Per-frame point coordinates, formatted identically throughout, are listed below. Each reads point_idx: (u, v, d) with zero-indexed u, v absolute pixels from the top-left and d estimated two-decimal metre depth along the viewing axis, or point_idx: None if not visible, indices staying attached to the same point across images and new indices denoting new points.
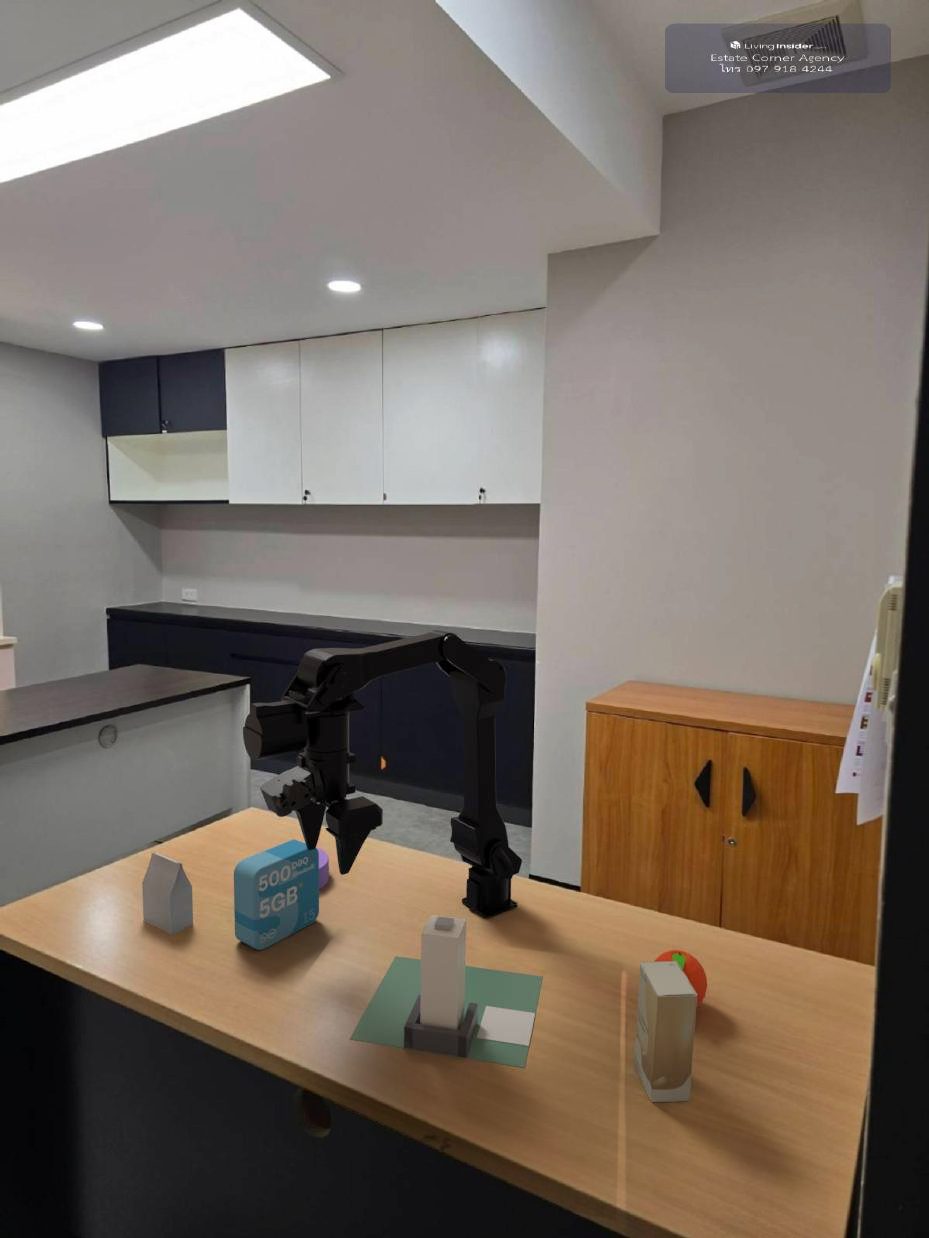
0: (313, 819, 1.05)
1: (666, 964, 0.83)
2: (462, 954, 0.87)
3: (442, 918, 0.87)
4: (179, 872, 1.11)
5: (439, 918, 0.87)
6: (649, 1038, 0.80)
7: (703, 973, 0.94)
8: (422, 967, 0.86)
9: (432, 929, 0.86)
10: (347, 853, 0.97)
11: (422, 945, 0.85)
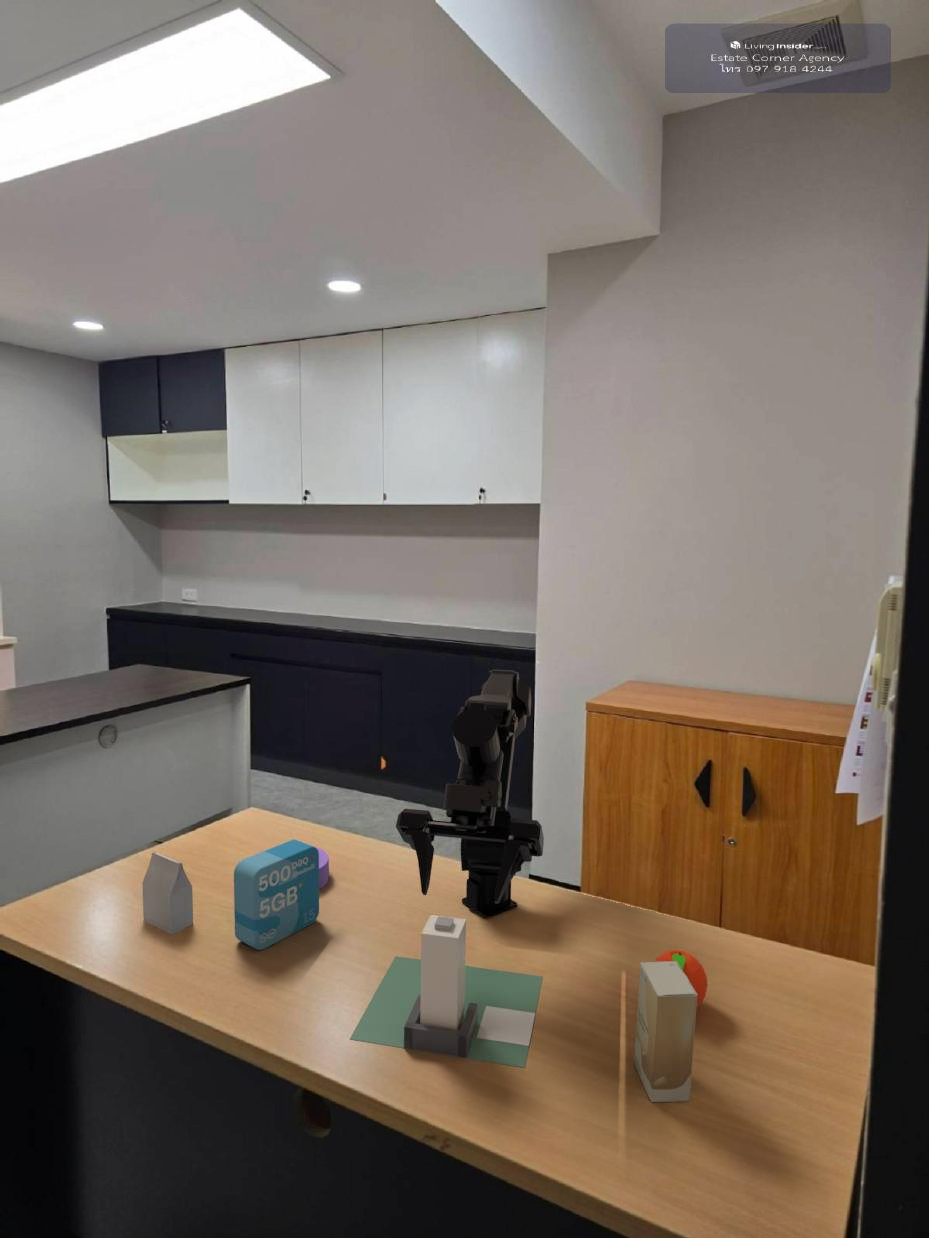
0: (428, 863, 0.99)
1: (666, 964, 0.83)
2: (462, 954, 0.87)
3: (442, 918, 0.87)
4: (179, 872, 1.11)
5: (439, 918, 0.87)
6: (649, 1038, 0.80)
7: (703, 973, 0.94)
8: (422, 967, 0.86)
9: (432, 929, 0.86)
10: (508, 877, 0.95)
11: (422, 945, 0.85)
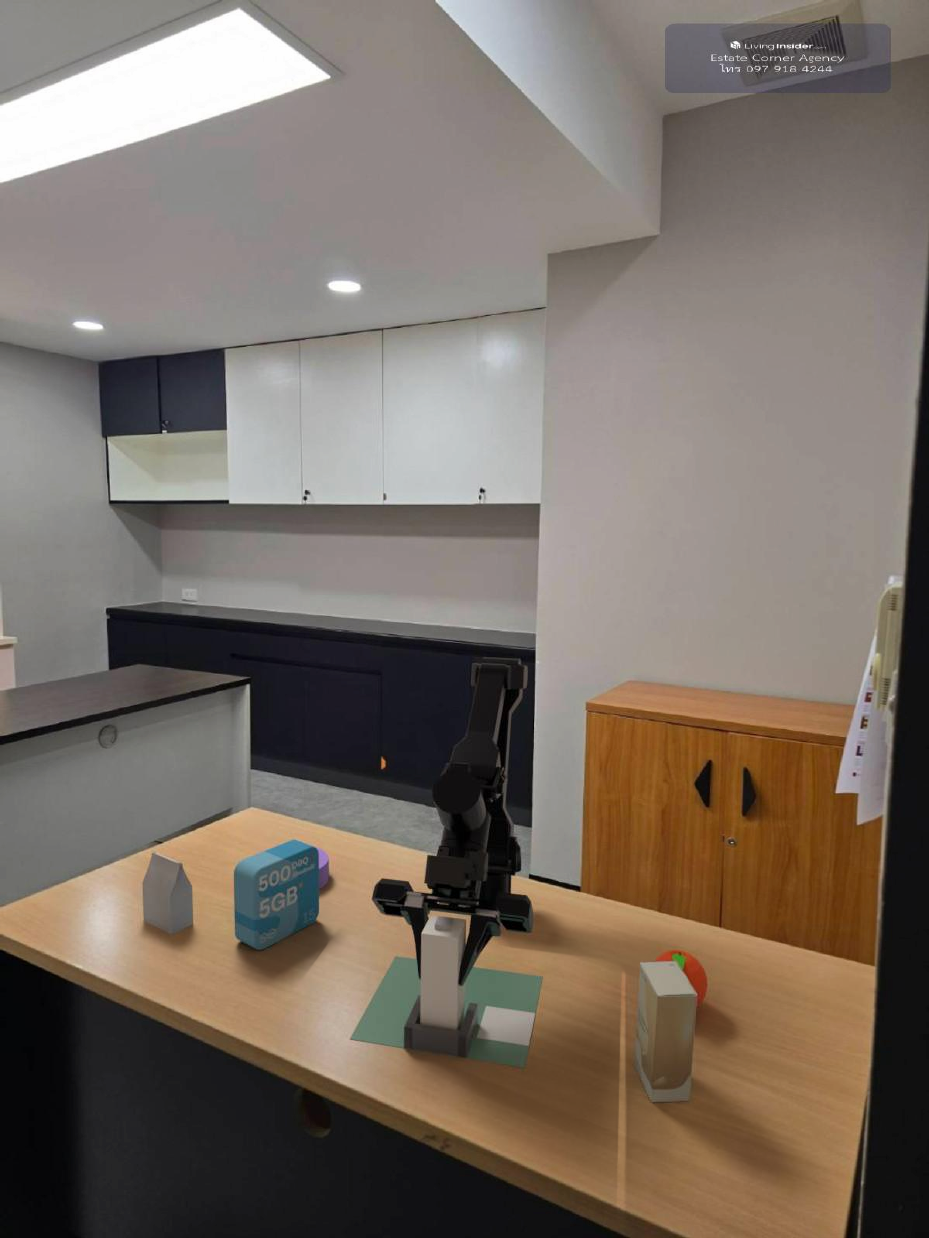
0: None
1: (666, 964, 0.83)
2: (462, 954, 0.87)
3: (442, 918, 0.87)
4: (179, 872, 1.11)
5: (439, 918, 0.87)
6: (649, 1038, 0.80)
7: (703, 973, 0.94)
8: (422, 967, 0.86)
9: (432, 929, 0.86)
10: (474, 956, 0.87)
11: (422, 945, 0.85)
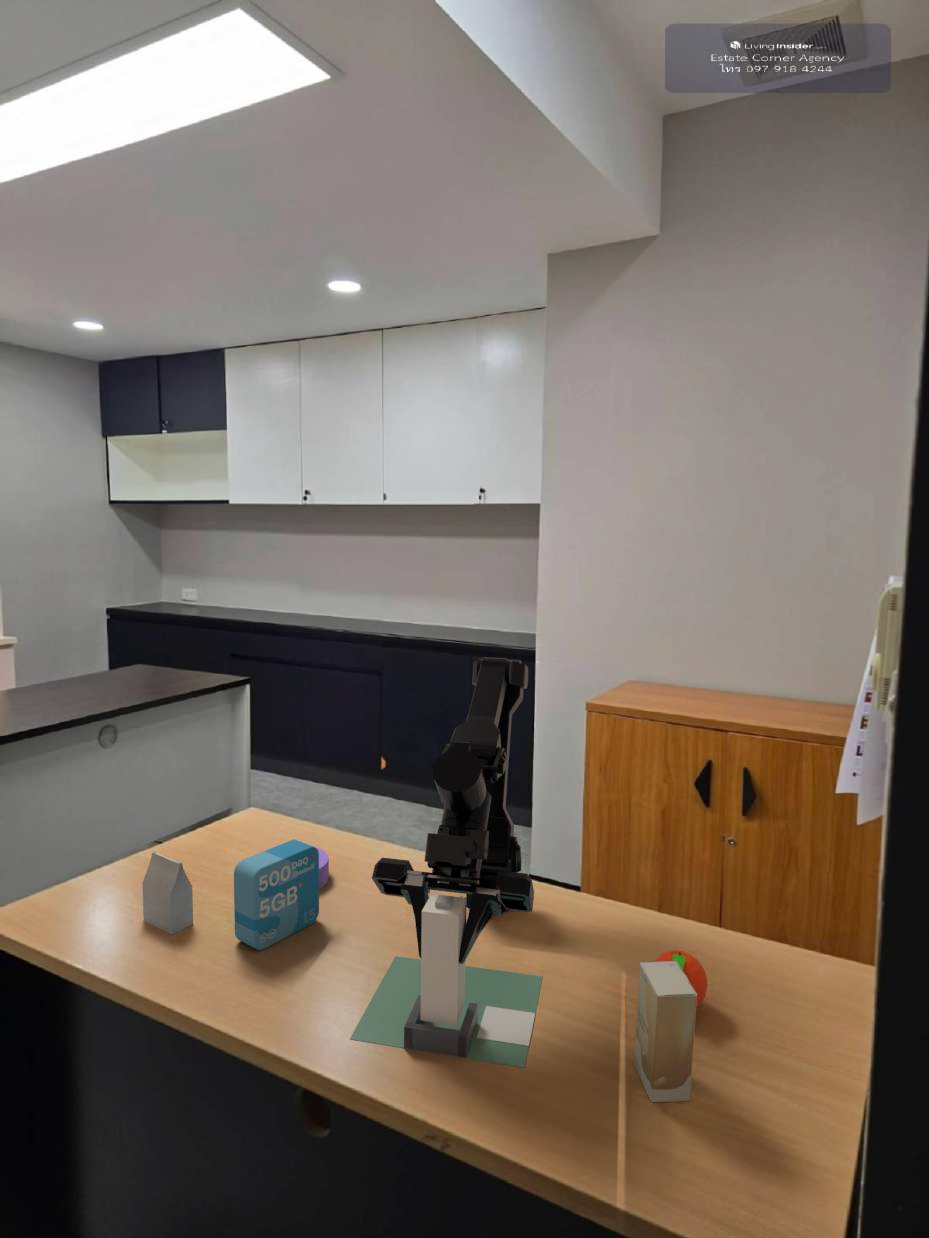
0: None
1: (666, 964, 0.83)
2: (462, 932, 0.87)
3: (442, 896, 0.87)
4: (179, 872, 1.11)
5: (439, 896, 0.87)
6: (649, 1038, 0.80)
7: (703, 973, 0.94)
8: (422, 945, 0.86)
9: (432, 907, 0.86)
10: (474, 934, 0.87)
11: (422, 923, 0.85)
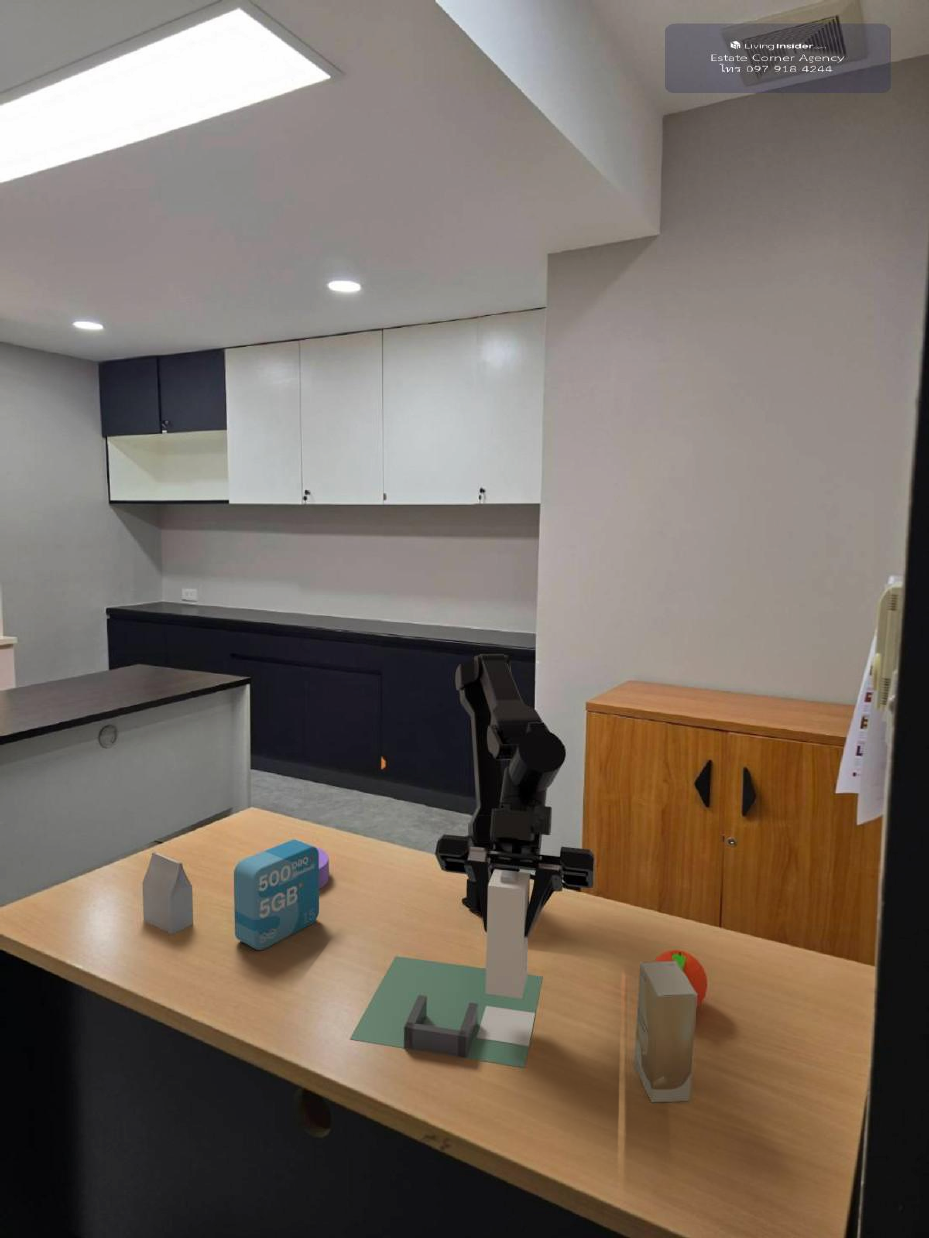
0: None
1: (666, 964, 0.83)
2: (527, 907, 0.88)
3: (507, 872, 0.88)
4: (179, 872, 1.11)
5: (504, 871, 0.88)
6: (649, 1038, 0.80)
7: (703, 973, 0.94)
8: (488, 919, 0.87)
9: (498, 882, 0.87)
10: (538, 909, 0.88)
11: (488, 897, 0.86)
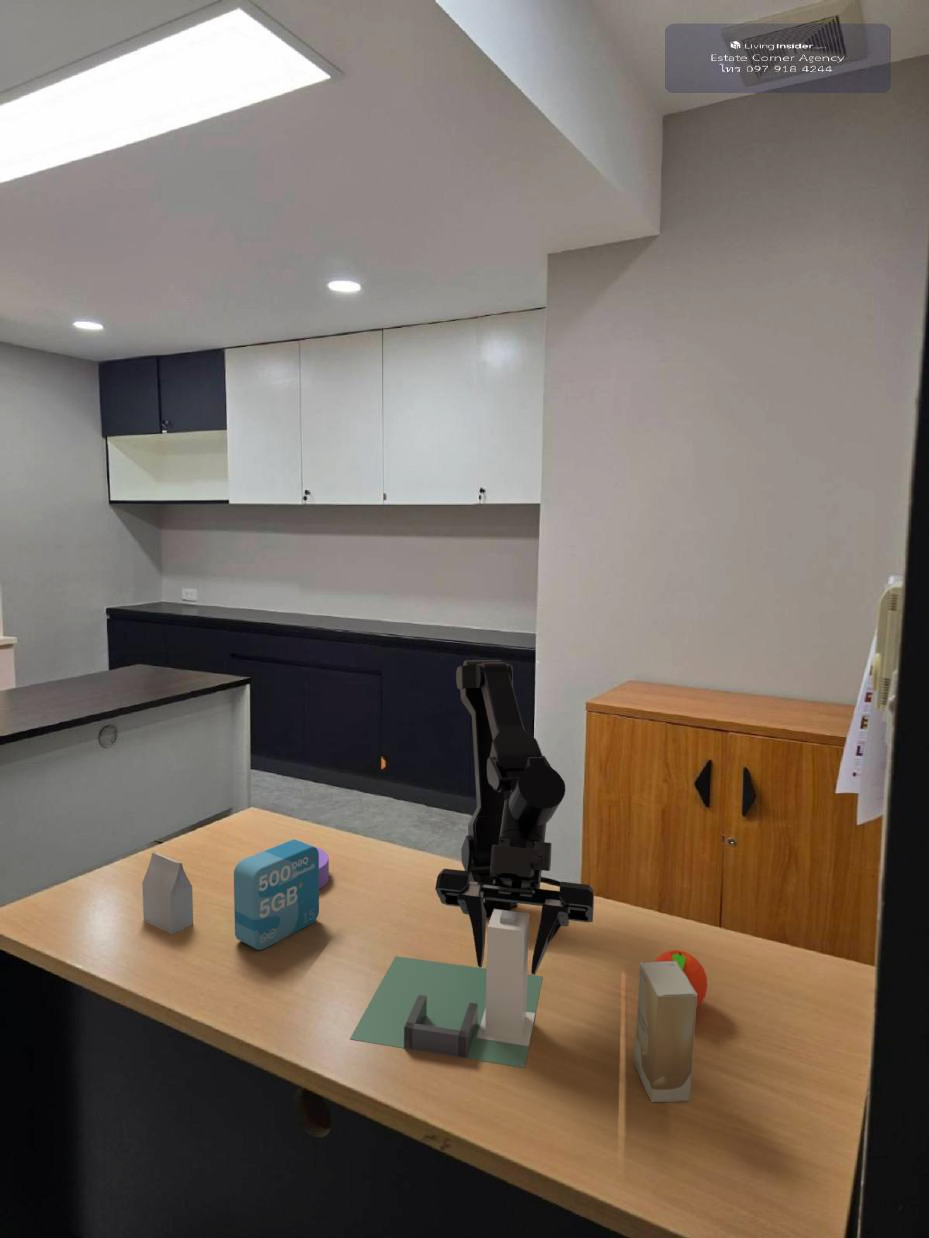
0: (482, 931, 0.91)
1: (666, 964, 0.83)
2: (526, 947, 0.89)
3: (506, 912, 0.89)
4: (179, 872, 1.11)
5: (503, 912, 0.89)
6: (649, 1038, 0.80)
7: (703, 973, 0.94)
8: (488, 960, 0.87)
9: (497, 923, 0.88)
10: (545, 945, 0.89)
11: (488, 938, 0.87)
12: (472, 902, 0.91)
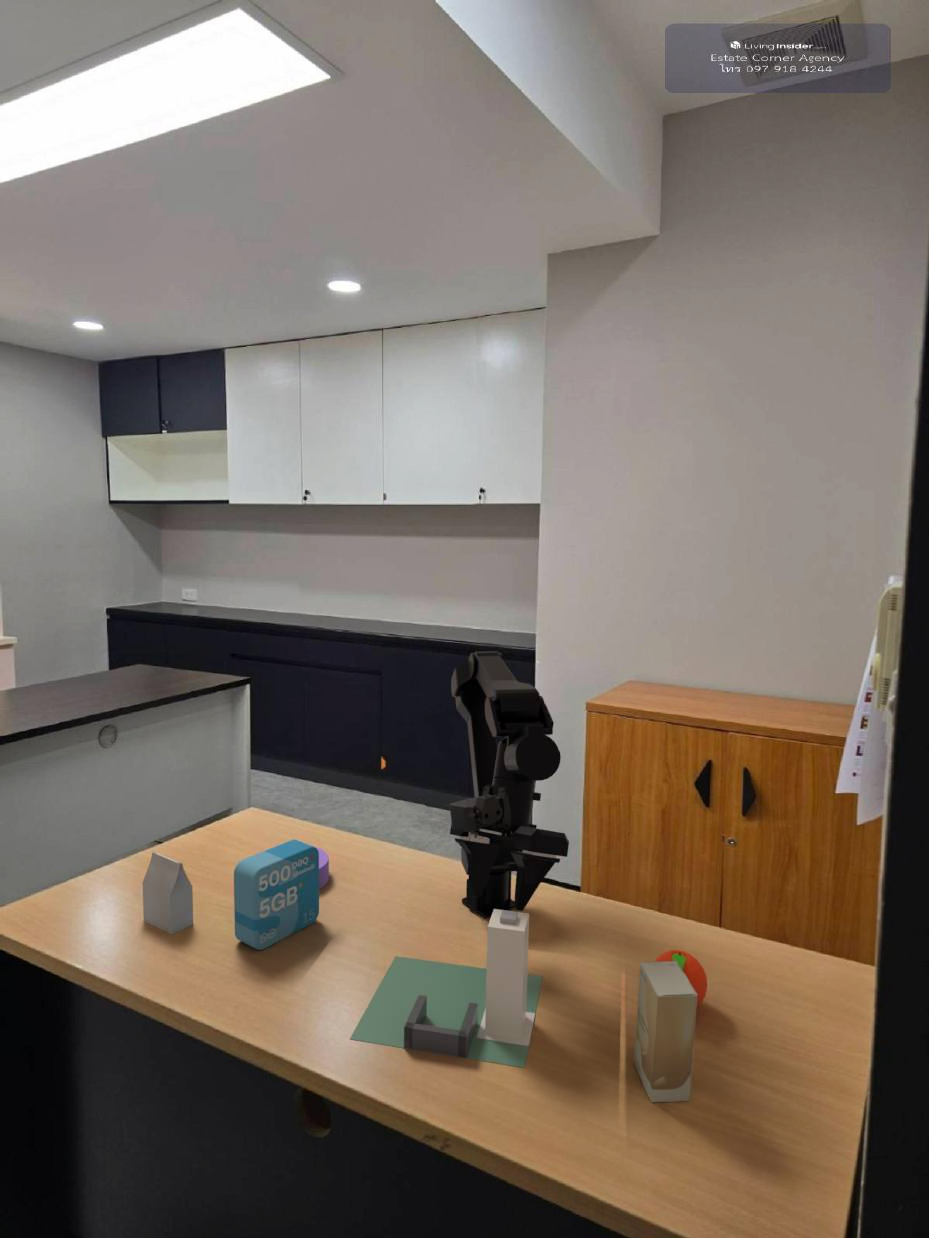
0: (482, 865, 1.04)
1: (666, 964, 0.83)
2: (526, 947, 0.89)
3: (506, 912, 0.89)
4: (179, 872, 1.12)
5: (503, 912, 0.89)
6: (649, 1038, 0.80)
7: (703, 973, 0.94)
8: (488, 960, 0.87)
9: (497, 923, 0.88)
10: (526, 885, 0.95)
11: (488, 938, 0.87)
12: (462, 844, 1.04)
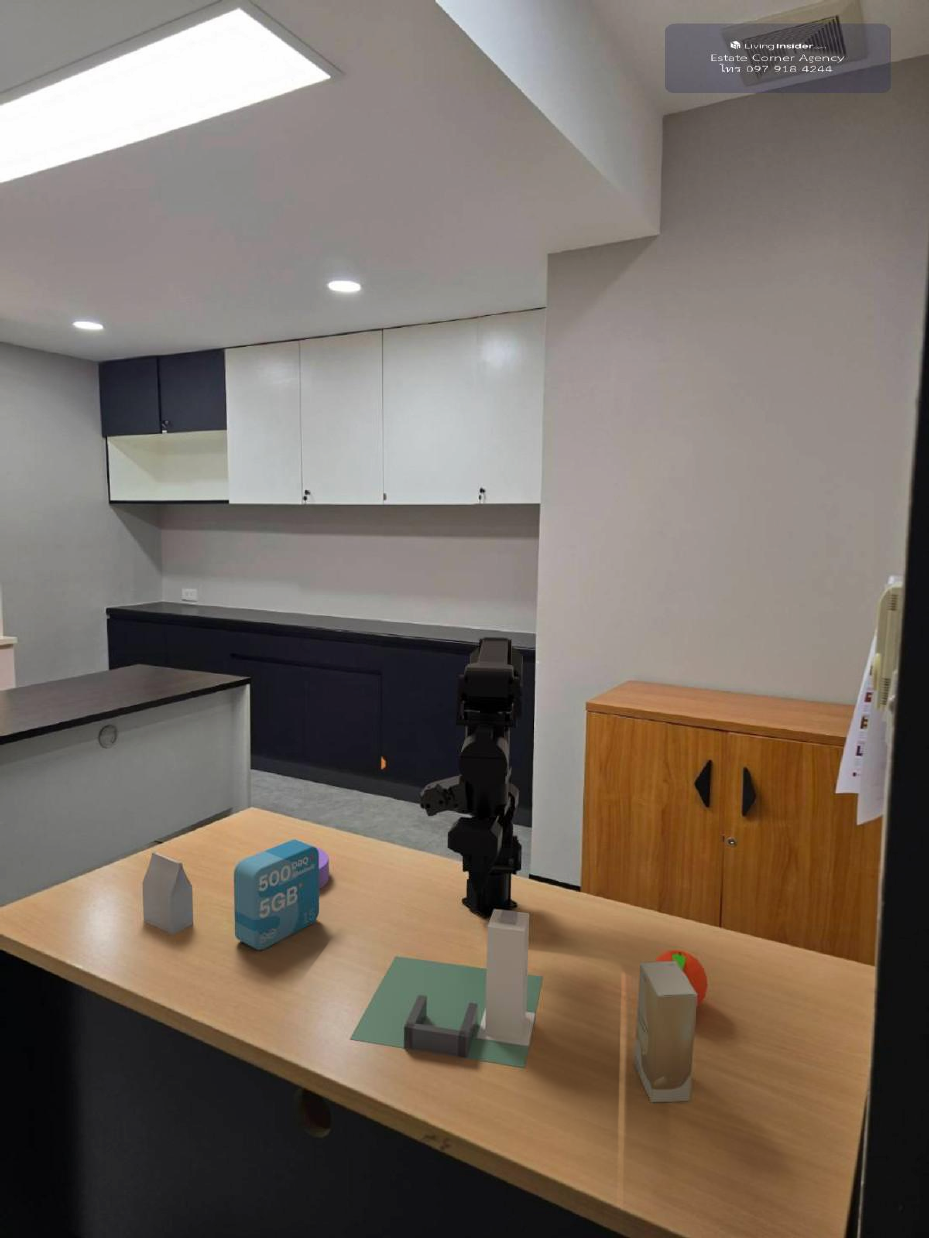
0: None
1: (666, 964, 0.83)
2: (526, 947, 0.89)
3: (506, 912, 0.89)
4: (179, 872, 1.11)
5: (503, 912, 0.89)
6: (649, 1038, 0.80)
7: (703, 973, 0.94)
8: (488, 960, 0.87)
9: (497, 923, 0.88)
10: (475, 872, 0.96)
11: (488, 938, 0.87)
12: None
